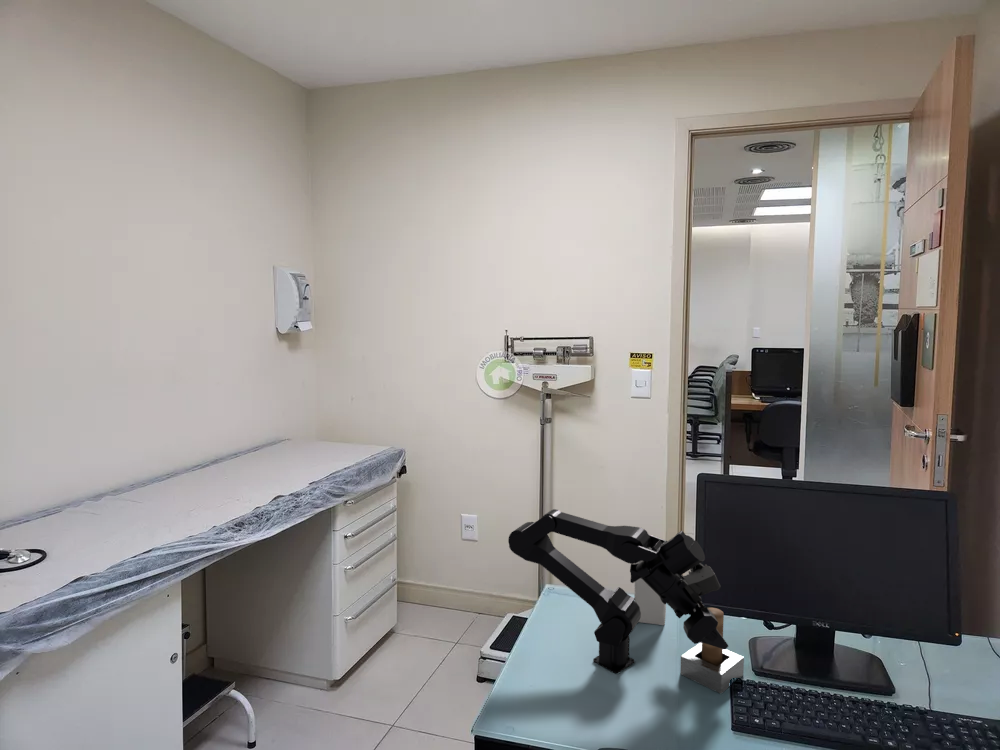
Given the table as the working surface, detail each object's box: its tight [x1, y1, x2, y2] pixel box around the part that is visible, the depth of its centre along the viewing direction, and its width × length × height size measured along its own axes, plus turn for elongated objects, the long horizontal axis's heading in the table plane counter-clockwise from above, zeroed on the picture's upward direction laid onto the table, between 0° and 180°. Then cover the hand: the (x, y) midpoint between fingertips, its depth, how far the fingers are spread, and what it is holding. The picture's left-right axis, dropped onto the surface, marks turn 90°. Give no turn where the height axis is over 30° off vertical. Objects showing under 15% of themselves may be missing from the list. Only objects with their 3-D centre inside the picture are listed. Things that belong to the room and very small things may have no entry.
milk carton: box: [633, 548, 667, 626], centre depth 152 cm, size 7×7×19 cm
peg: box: [702, 607, 725, 667], centre depth 129 cm, size 4×4×13 cm
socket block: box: [679, 642, 745, 695], centre depth 129 cm, size 9×9×4 cm
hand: (719, 635), depth 128 cm, fingers open, 9 cm apart
